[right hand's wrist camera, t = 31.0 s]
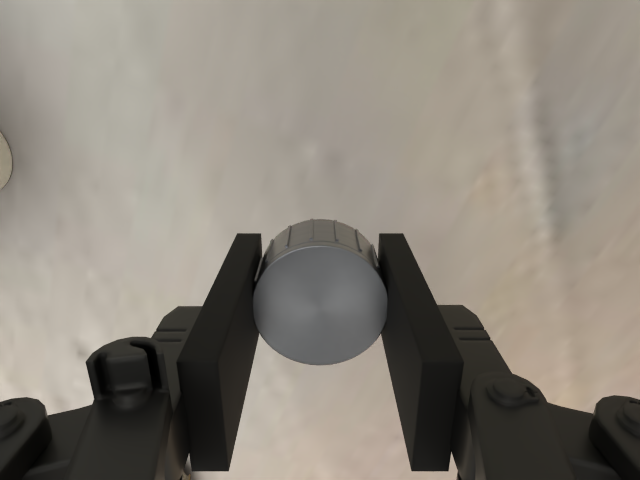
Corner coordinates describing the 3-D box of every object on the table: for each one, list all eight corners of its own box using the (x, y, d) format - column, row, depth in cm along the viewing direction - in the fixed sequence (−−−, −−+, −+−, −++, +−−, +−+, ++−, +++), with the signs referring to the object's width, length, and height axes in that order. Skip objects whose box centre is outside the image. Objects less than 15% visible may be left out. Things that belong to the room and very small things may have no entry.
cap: (392, 226, 14) (405, 254, 12) (369, 333, 15) (375, 374, 13) (266, 208, 14) (257, 233, 12) (254, 319, 15) (244, 358, 13)
